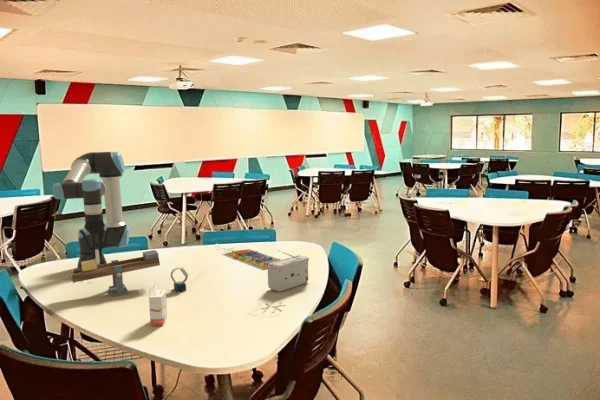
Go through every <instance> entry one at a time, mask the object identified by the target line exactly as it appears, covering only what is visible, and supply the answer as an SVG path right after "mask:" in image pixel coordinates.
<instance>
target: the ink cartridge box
mask: <svg viewBox="0 0 600 400" xmlns="http://www.w3.org/2000/svg"><path fill="white" fill-rule="evenodd" d="M148 304H149V318H150V320H149V321H150V327H160V326H159V325H163V326H164V324H165V323H166V321H165V320H167V319H168V310H167V309H168V307H167V290H166V289H162V290H161V289H160V290H158V289H157V290H155V283H153V284H152V285H151V287H149V290H148ZM166 318H167V319H166Z"/></svg>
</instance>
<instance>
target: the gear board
mask: <svg viewBox="0 0 600 400" xmlns="http://www.w3.org/2000/svg"><path fill="white" fill-rule="evenodd" d="M222 255H223V256H225V257H228V258H231V259H232V260H233V259H234V260H236V261H237V262H241V263H243V264H246V265H249V266H251V267H254V268H257V269H259V270H262V271H268V264H269V263H271V262H275V261H279V260H282V259H280V258H277V257H275V256H270V255H268V254H265V253H262V252H259V251H258V250H252V249H250V248H248V249H247V248H246V249H242V250H241V249H240V250H235V251H234V250H231V252H226V253H222Z"/></svg>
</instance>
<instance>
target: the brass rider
mask: <svg viewBox="0 0 600 400" xmlns="http://www.w3.org/2000/svg"><path fill="white" fill-rule="evenodd" d="M81 265H82V272H88V271H93V270H97V263H96V260H95V259H94V260H88V261H83V262H81Z"/></svg>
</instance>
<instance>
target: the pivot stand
mask: <svg viewBox="0 0 600 400" xmlns="http://www.w3.org/2000/svg"><path fill="white" fill-rule="evenodd" d="M117 261H119V260H118V259H114V260H111V262H110V263H112V262H117ZM114 269H115V274H114V275H111V276H112V285H110V286H108V291H109V293H110V295H111V297H112V298H113V297H118V296H125V295H128V294H129V290H128V288H127V286H126V285H125V283H124V282H123V273H122V266H121V265H119V266H114Z"/></svg>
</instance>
